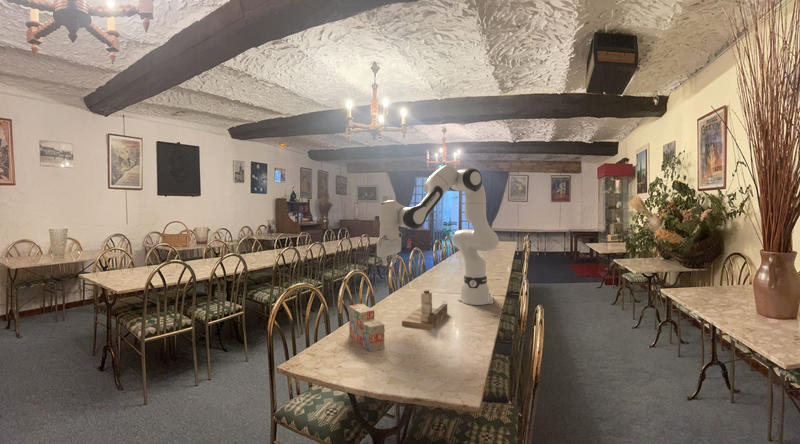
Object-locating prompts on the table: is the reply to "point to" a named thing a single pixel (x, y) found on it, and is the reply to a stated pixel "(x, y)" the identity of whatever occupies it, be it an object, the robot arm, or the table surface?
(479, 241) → the robot arm
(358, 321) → the stack of blocks
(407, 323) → the fenced board
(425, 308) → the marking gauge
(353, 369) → the table surface
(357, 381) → the table surface
